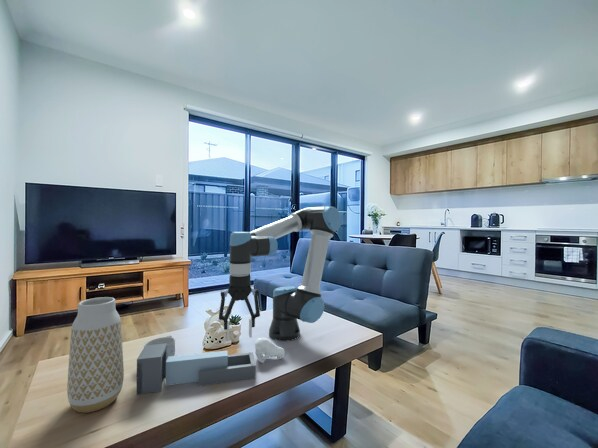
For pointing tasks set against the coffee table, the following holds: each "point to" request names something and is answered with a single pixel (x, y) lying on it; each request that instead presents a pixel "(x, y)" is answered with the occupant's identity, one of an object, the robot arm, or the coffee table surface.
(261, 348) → the white irregular piece
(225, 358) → the blue-grey rectangular block
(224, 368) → the endcap
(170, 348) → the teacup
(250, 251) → the robot arm
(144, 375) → the endcap
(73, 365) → the vase
